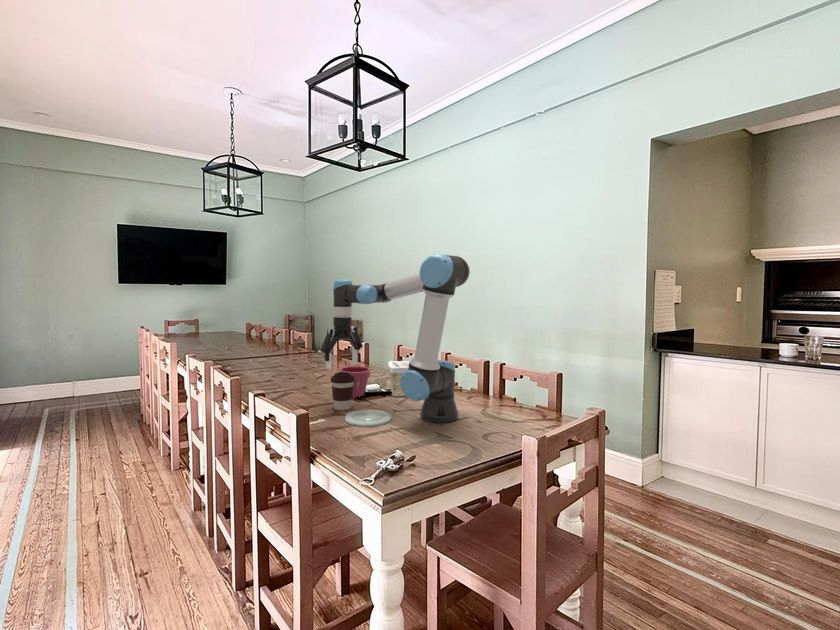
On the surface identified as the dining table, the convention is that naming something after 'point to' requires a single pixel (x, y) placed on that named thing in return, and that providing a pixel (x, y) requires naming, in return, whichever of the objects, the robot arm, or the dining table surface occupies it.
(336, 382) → the coffee cup
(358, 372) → the plant pot
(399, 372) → the storage basket
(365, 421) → the dish
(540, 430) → the dining table surface
